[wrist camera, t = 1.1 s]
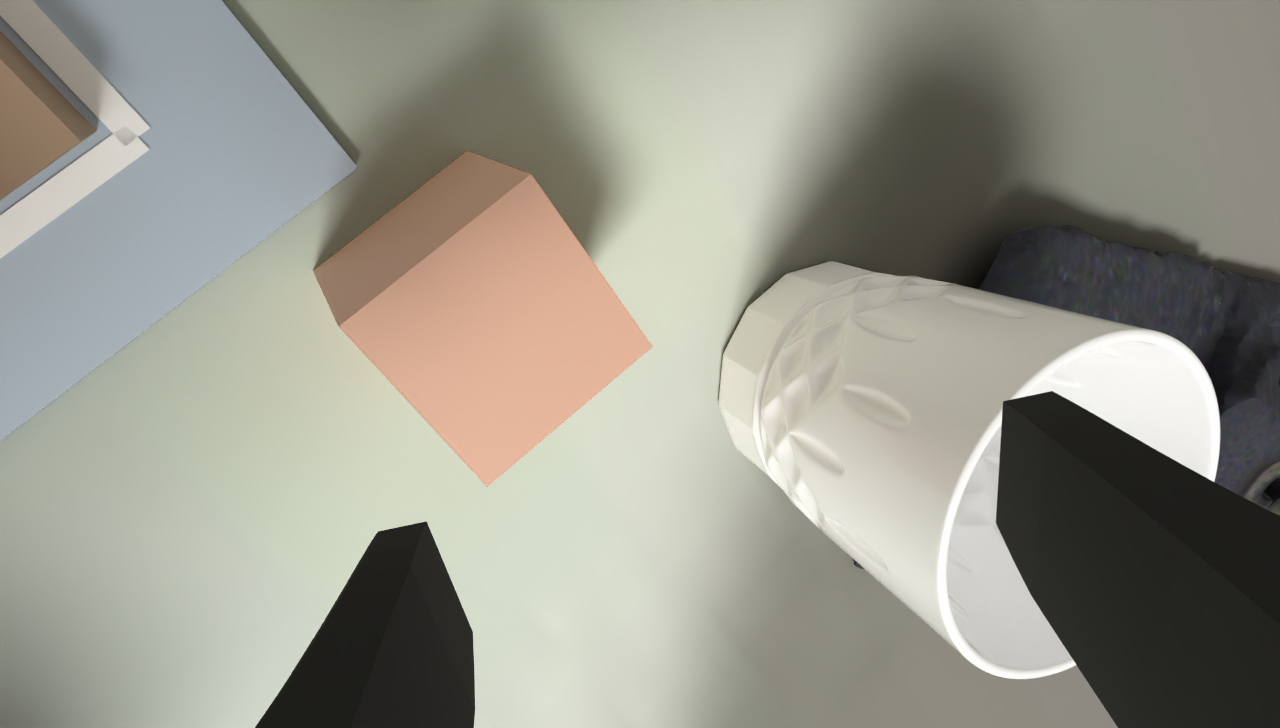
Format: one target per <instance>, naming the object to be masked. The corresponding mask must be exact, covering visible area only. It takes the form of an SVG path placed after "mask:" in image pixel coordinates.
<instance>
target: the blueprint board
mask: <svg viewBox="0 0 1280 728" xmlns="http://www.w3.org/2000/svg"><path fill="white" fill-rule="evenodd" d="M0 31H1V32H2V33H3V34H4V35H5V36H6V37H7V38H8V39H9V40H10V41H11V42H12V43H13V44H14V45H15V47H16V48H17V49H18V50H19V51H20V52H21V53H22V54H23V55H24V56H25V57H26V58H27V59H28V60H29V61H30V62H31V63H32V64H33V65H34V66H35V67H36V68H37V69H38V70H39V71H40V72H41V74H42V75H43V76H44V77H45V78H46V79H47V80H48V81H49V82H50V83H51V84H52V85H53V86H54V87H55V88H56V89H57V90H58V91H59V92H60V93H61V94H62V95H63V96H64V97H65V98H66V99H67V101H68V102H69V103H70V104H71V105H72V106H73V107H74V108H75V109H76V110H77V111H78V112H79V113H80V114H81V115H82V116H83V117H84V118H85V119H86V120H87V121H88V122H89V123H90V124H91V125H92V126H93V127H94V129H95V130H96V132H95V133H94V134H92V135H91V136H89V137H88V138H87V139H85V140H84V141H82V142H81V143H80V144H78V145H77V146H76V147H74V148H73V149H71V150H70V151H69V152H67V153H66V154H64V155H63V156H62V157H60V158H59V159H57V160H56V161H55V162H53V163H52V164H51V165H49V166H48V167H46V168H45V169H44V170H42V171H41V172H39V173H38V174H37V175H35V176H34V177H32V178H31V179H30V180H28V181H27V182H26V183H24V184H23V185H21V186H20V187H19V188H17V189H16V190H14V191H13V192H12V193H10V194H9V195H7V196H6V197H5V198H3V199H2V200H1V201H0V441H1V440H2V439H4V438H5V437H6V436H8V435H9V434H10V433H11V432H13V431H14V430H15V429H17V428H18V427H19V426H21V425H22V424H23V423H25V422H26V421H27V420H28V419H30V418H31V417H32V416H34V415H35V414H36V413H38V412H39V411H40V410H42V409H43V408H44V407H45V406H47V405H48V404H49V403H51V402H52V401H53V400H55V399H56V398H57V397H59V396H60V395H61V394H63V393H64V392H65V391H66V390H68V389H69V388H70V387H72V386H73V385H74V384H76V383H77V382H78V381H80V380H81V379H82V378H83V377H85V376H86V375H87V374H89V373H90V372H91V371H93V370H94V369H95V368H97V367H98V366H99V365H100V364H102V363H103V362H104V361H106V360H107V359H108V358H110V357H111V356H112V355H114V354H115V353H116V352H117V351H119V350H120V349H121V348H123V347H124V346H125V345H127V344H128V343H129V342H131V341H132V340H133V339H134V338H136V337H137V336H138V335H140V334H141V333H142V332H144V331H145V330H146V329H148V328H149V327H150V326H152V325H153V324H154V323H155V322H157V321H158V320H159V319H161V318H162V317H163V316H165V315H166V314H167V313H169V312H170V311H171V310H172V309H174V308H175V307H176V306H178V305H179V304H180V303H182V302H183V301H184V300H186V299H187V298H188V297H189V296H191V295H192V294H193V293H195V292H196V291H197V290H199V289H200V288H201V287H203V286H204V285H205V284H206V283H208V282H209V281H210V280H212V279H213V278H214V277H216V276H217V275H218V274H220V273H221V272H222V271H223V270H225V269H226V268H227V267H229V266H230V265H231V264H233V263H234V262H235V261H237V260H238V259H239V258H241V257H242V256H243V255H244V254H246V253H247V252H248V251H250V250H251V249H252V248H254V247H255V246H256V245H258V244H259V243H260V242H261V241H263V240H264V239H265V238H267V237H268V236H269V235H271V234H272V233H273V232H275V231H276V230H277V229H278V228H280V227H281V226H282V225H284V224H285V223H286V222H288V221H289V220H290V219H292V218H293V217H294V216H295V215H297V214H298V213H299V212H301V211H302V210H303V209H305V208H306V207H307V206H309V205H310V204H311V203H312V202H314V201H315V200H316V199H318V198H319V197H320V196H322V195H323V194H324V193H326V192H327V191H328V190H329V189H331V188H332V187H333V186H335V185H336V184H337V183H339V182H340V181H341V180H343V179H344V178H345V177H347V176H348V175H349V174H350V173H352V172H353V171H354V170H356V169H357V168H358V167H357V166H356V165H355V163H354V162H353V161H352V160H351V158H350V157H349V156H348V155H347V154H346V152H345V151H344V150H343V149H342V147H341V146H340V145H339V144H338V142H337V141H336V140H335V139H334V138H333V136H332V135H331V134H330V133H329V131H328V130H327V129H326V128H325V127H324V125H323V124H322V123H321V122H320V120H319V119H318V118H317V117H316V115H315V114H314V113H313V112H312V111H311V109H310V108H309V107H308V106H307V104H306V103H305V102H304V101H303V100H302V98H301V97H300V96H299V95H298V93H297V92H296V91H295V90H294V88H293V87H292V86H291V85H290V84H289V82H288V81H287V80H286V79H285V77H284V76H283V75H282V74H281V73H280V71H279V70H278V69H277V68H276V66H275V65H274V64H273V63H272V61H271V60H270V59H269V58H268V57H267V55H266V54H265V53H264V52H263V50H262V49H261V48H260V47H259V46H258V44H257V43H256V42H255V41H254V39H253V38H252V37H251V36H250V34H249V33H248V32H247V31H246V30H245V28H244V27H243V26H242V25H241V23H240V22H239V21H238V20H237V19H236V17H235V16H234V15H233V14H232V12H231V11H230V10H229V9H228V7H227V6H226V5H225V4H224V3H223V1H222V0H0Z"/></svg>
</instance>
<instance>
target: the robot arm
mask: <svg viewBox="0 0 1280 728" xmlns="http://www.w3.org/2000/svg"><path fill="white" fill-rule="evenodd" d="M996 525H997V527H998V529H999V531H1000V533H1001V535H1002V537H1003V539H1004V542H1005V544H1006V546H1007V548H1008V550H1009V552H1010V554H1011V556H1012V559H1013V561H1014V563H1015V565H1016V567H1017V569H1018V571H1019V573H1020V575H1021V577H1022V579H1023V580H1024V582H1025V584H1026V586H1027V588H1028V590H1029V592H1030V594H1031V596H1032V597H1033V599H1034V601H1035V602H1036V604H1037V605H1038V607H1039V608H1040V610H1041V612H1042V613H1043V615H1044V616H1045V618H1046V619H1047V621H1048V622H1049V624H1050V625H1051V627H1052V628H1053V630H1054V632H1055V633H1056V635H1057V636H1058V638H1059V639H1060V641H1061V642H1062V644H1063V645H1064V647H1065V648H1066V650H1067V651H1068V653H1069V654H1070V656H1071V657H1072V659H1073V660H1074V662H1075V663H1076V665H1077V666H1078V668H1079V669H1080V671H1081V672H1082V674H1083V675H1084V677H1085V678H1086V680H1087V681H1088V683H1089V684H1090V686H1091V687H1092V689H1093V690H1094V692H1095V694H1096V695H1097V697H1098V698H1099V700H1100V701H1101V703H1102V704H1103V706H1104V707H1105V709H1106V710H1107V712H1108V713H1109V715H1110V716H1111V718H1112V719H1113V721H1114V722H1115V724H1116V725H1117V727H1118V728H1280V516H1279V515H1277V514H1275V513H1273V512H1271V511H1269V510H1267V509H1265V508H1263V507H1261V506H1259V505H1257V504H1255V503H1253V502H1251V501H1249V500H1247V499H1246V498H1244V497H1242V496H1240V495H1238V494H1236V493H1234V492H1232V491H1230V490H1228V489H1226V488H1225V487H1223V486H1221V485H1219V484H1217V483H1215V482H1213V481H1211V480H1210V479H1208V478H1206V477H1204V476H1202V475H1200V474H1199V473H1197V472H1195V471H1193V470H1191V469H1190V468H1188V467H1186V466H1184V465H1182V464H1180V463H1179V462H1177V461H1175V460H1173V459H1172V458H1170V457H1168V456H1166V455H1164V454H1163V453H1161V452H1159V451H1157V450H1156V449H1154V448H1152V447H1150V446H1149V445H1147V444H1145V443H1143V442H1142V441H1140V440H1138V439H1136V438H1135V437H1133V436H1131V435H1129V434H1128V433H1126V432H1124V431H1122V430H1121V429H1119V428H1117V427H1115V426H1114V425H1112V424H1110V423H1109V422H1107V421H1105V420H1103V419H1102V418H1100V417H1098V416H1096V415H1095V414H1093V413H1091V412H1089V411H1088V410H1086V409H1084V408H1082V407H1081V406H1079V405H1077V404H1075V403H1073V402H1072V401H1070V400H1068V399H1066V398H1064V397H1062V396H1061V395H1059V394H1057V393H1055V392H1053V391H1050V392H1045V393H1040V394H1035V395H1031V396H1026V397H1021V398H1016V399H1011V400H1007V401H1003V410H1002V427H1001V443H1000V460H999V476H998V493H997V510H996ZM474 715H475V689H474V655H473V632H472V629H471V627H470V625H469V622H468V620H467V617H466V615H465V613H464V610H463V608H462V605H461V603H460V601H459V598H458V596H457V593H456V591H455V589H454V586H453V584H452V581H451V579H450V577H449V574H448V572H447V570H446V567H445V565H444V562H443V560H442V558H441V555H440V553H439V550H438V548H437V546H436V543H435V541H434V538H433V536H432V534H431V531H430V529H429V527H428V524H427V522H422V523H417V524H413V525H408V526H403V527H398V528H393V529H389V530H384V531H379V532H378V533H377V534H376V535H375V537H374V538H373V540H372V541H371V543H370V545H369V546H368V548H367V550H366V551H365V553H364V555H363V556H362V558H361V560H360V561H359V563H358V565H357V566H356V568H355V570H354V572H353V573H352V575H351V577H350V578H349V580H348V582H347V584H346V585H345V587H344V589H343V590H342V592H341V594H340V595H339V597H338V599H337V600H336V602H335V604H334V606H333V607H332V609H331V611H330V612H329V614H328V616H327V617H326V619H325V621H324V622H323V624H322V626H321V627H320V629H319V630H318V632H317V634H316V635H315V637H314V638H313V640H312V642H311V643H310V645H309V646H308V648H307V650H306V651H305V653H304V654H303V656H302V658H301V659H300V661H299V662H298V664H297V666H296V667H295V669H294V670H293V672H292V673H291V675H290V677H289V678H288V680H287V681H286V683H285V684H284V686H283V688H282V689H281V691H280V692H279V694H278V695H277V697H276V698H275V699H274V701H273V702H272V704H271V705H270V707H269V708H268V710H267V711H266V713H265V714H264V715H263V717H262V718H261V720H260V721H259V723H258V724H257V726H256V727H255V728H473V727H474Z"/></svg>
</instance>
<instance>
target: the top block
mask: <svg viewBox="0 0 1280 728" xmlns="http://www.w3.org/2000/svg"><path fill="white" fill-rule="evenodd" d="M313 272H314V274H315V276H316V278H317V281H318V283H319V285H320V287H321V289H322V291H323V294H324V296H325V298H326V300H327V302H328V304H329V307H330V309H331V311H332V313H333V315H334V317H335V320H336V322H337V324H338V326H339V327H340V328H341V330H342V331H343V332H344V333H345V334H346V335H347V336H348V337H349V338H350V339H351V340H352V341H353V343H354V344H355V345H356V346H357V347H358V348H359V349H360V350H361V351H362V352H363V353H364V354H365V355H366V357H367V358H368V359H369V360H370V361H371V362H372V363H373V364H374V365H375V366H376V367H377V368H378V370H379V371H380V372H381V373H382V374H383V375H384V376H385V377H386V378H387V379H388V380H389V381H390V383H391V384H392V385H393V386H394V387H395V388H396V389H397V390H398V391H399V392H400V393H401V394H402V395H403V397H404V398H405V399H406V400H407V401H408V402H409V403H410V404H411V405H412V406H413V407H414V408H415V410H416V411H417V412H418V413H419V414H420V415H421V416H422V417H423V418H424V419H425V420H426V421H427V423H428V424H429V425H430V426H431V427H432V428H433V429H434V430H435V431H436V432H437V433H438V434H439V435H440V437H441V438H442V439H443V440H444V441H445V442H446V443H447V444H448V445H449V446H450V447H451V448H452V450H453V451H454V452H455V453H456V454H457V455H458V456H459V457H460V458H461V459H462V460H463V461H464V462H465V464H466V465H467V466H468V467H469V468H470V469H471V470H472V471H473V472H474V473H475V474H476V475H477V477H478V478H479V479H480V480H481V481H482V482H483V483H484V484H485V485H486V486H487V487H488V486H489V485H490V484H491V483H492V482H494V481H495V480H496V479H497V478H498V477H499V476H501V475H502V474H503V473H504V472H505V471H507V470H508V469H509V468H510V467H511V466H512V465H514V464H515V463H516V462H517V461H518V460H520V459H521V458H522V457H523V456H524V455H525V454H527V453H528V452H529V451H530V450H531V449H533V448H534V447H535V446H536V445H537V444H538V443H540V442H541V441H542V440H543V439H544V438H545V437H547V436H548V435H549V434H550V433H551V432H553V431H554V430H555V429H556V428H557V427H558V426H560V425H561V424H562V423H563V422H564V421H566V420H567V419H568V418H569V417H570V416H571V415H573V414H574V413H575V412H576V411H577V410H579V409H580V408H581V407H582V406H583V405H584V404H586V403H587V402H588V401H589V400H590V399H592V398H593V397H594V396H595V395H596V394H597V393H599V392H600V391H601V390H602V389H603V388H604V387H606V386H607V385H608V384H609V383H610V382H612V381H613V380H614V379H615V378H616V377H617V376H619V375H620V374H621V373H622V372H623V371H625V370H626V369H627V368H628V367H629V366H630V365H632V364H633V363H634V362H635V361H636V360H638V359H639V358H640V357H641V356H642V355H643V354H645V353H646V352H647V351H648V350H649V349H651V348H652V347H653V346H652V345H651V343H650V342H649V341H648V339H647V338H646V336H645V335H644V334H643V332H642V331H641V329H640V328H639V326H638V325H637V324H636V322H635V321H634V319H633V318H632V316H631V315H630V314H629V312H628V311H627V309H626V308H625V307H624V305H623V304H622V302H621V301H620V299H619V298H618V297H617V295H616V294H615V292H614V291H613V289H612V288H611V287H610V285H609V284H608V282H607V281H606V280H605V278H604V277H603V275H602V274H601V272H600V271H599V270H598V268H597V267H596V265H595V264H594V262H593V261H592V260H591V258H590V257H589V255H588V254H587V253H586V251H585V250H584V248H583V247H582V245H581V244H580V243H579V241H578V240H577V238H576V237H575V236H574V234H573V233H572V231H571V230H570V228H569V227H568V226H567V224H566V223H565V221H564V220H563V218H562V217H561V216H560V214H559V213H558V211H557V210H556V209H555V207H554V206H553V204H552V203H551V201H550V200H549V199H548V197H547V196H546V194H545V193H544V191H543V190H542V189H541V187H540V186H539V184H538V183H537V182H536V180H535V179H534V177H533V176H532V174H530V173H527V172H524V171H522V170H519V169H516V168H513V167H511V166H508V165H505V164H502V163H500V162H497V161H494V160H491V159H489V158H486V157H483V156H480V155H478V154H475V153H472V152H469V151H466V152H465V153H464V154H462V155H461V156H460V157H458V158H457V159H456V160H455V161H453V162H452V163H451V164H449V165H448V166H447V167H446V168H444V169H443V170H442V171H440V172H439V173H438V174H437V175H435V176H434V177H433V178H431V179H430V180H429V181H428V182H426V183H425V184H424V185H422V186H421V187H420V188H419V189H417V190H416V191H415V192H413V193H412V194H411V195H410V196H408V197H407V198H406V199H404V200H403V201H402V202H401V203H399V204H398V205H397V206H395V207H394V208H393V209H392V210H390V211H389V212H388V213H386V214H385V215H384V216H383V217H381V218H380V219H379V220H377V221H376V222H375V223H374V224H372V225H371V226H370V227H368V228H367V229H366V230H365V231H363V232H362V233H361V234H359V235H358V236H357V237H356V238H354V239H353V240H352V241H350V242H349V243H348V244H347V245H345V246H344V247H343V248H341V249H340V250H339V251H338V252H336V253H335V254H334V255H332V256H331V257H330V258H329V259H327V260H326V261H325V262H323V263H322V264H321V265H320V266H318V267H317V268H316V269H314V270H313Z"/></svg>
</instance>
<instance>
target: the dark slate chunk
mask: <svg viewBox="0 0 1280 728" xmlns="http://www.w3.org/2000/svg"><path fill="white" fill-rule="evenodd" d="M979 290H983V291H987V292H991V293H996V294H1000V295H1004V296H1008V297H1013V298H1017V299H1022V300H1026V301H1031V302H1035V303H1039V304H1043V305H1047V306H1051V307H1056V308H1060V309H1064V310H1068V311H1072V312H1077V313H1081V314H1085V315H1089V316H1094V317H1098V318H1102V319H1107V320H1111V321H1115V322H1120V323H1124V324H1128V325H1133V326H1137V327H1141V328H1146V329H1150V330H1154V331H1158V332H1162V333H1164V334H1167V335H1169V336H1172V337H1174V338H1175V339H1177V340H1179V341H1180V342H1182V343H1183V344H1185V345H1186V346H1187V347H1188V348H1189V349H1190V350H1191V351H1192V352H1193V353H1194V354H1195V355H1196V356H1197V357H1198V358H1199V360H1200V361H1201V363H1202V364H1203V366H1204V367H1205V369H1206V371H1207V373H1208V375H1209V377H1210V379H1211V381H1212V384H1213V387H1214V390H1215V393H1216V397H1217V402H1218V407H1219V415H1220V452H1219V460H1218V467H1217V472H1216V477H1215V483H1217V484H1219V485H1221V486H1223V487H1225V488H1226V489H1228V490H1230V491H1232V492H1234V493H1236V494H1238V495H1240V496H1242V497H1244V498H1246V499H1247V500H1249V501H1251V502H1253V503H1255V504H1257V505H1259V506H1261V507H1263V508H1265V509H1267V510H1269V511H1271V512H1273V513H1275V514H1277V515H1279V516H1280V284H1278V283H1271V282H1268V281H1265V280H1262V279H1256V278H1252V277H1249V276H1247V277H1245V276H1242V275H1239V274H1236V273H1233V272H1231V271H1226V272H1224V273H1221V272H1220V271H1218V270H1217V269H1215V268H1213V265H1212V264H1210V263H1209V262H1204V263H1201V262H1198V261H1196V260H1195V259H1193V258H1191V257H1189V256H1186V255H1183V254H1179V253H1162V252H1156V253H1153V252H1152V251H1151V250H1149V249H1143V248H1134V247H1130V246H1128V245H1126V244H1123V243H1117V242H1104V241H1102V240H1100V239H1098V238H1096V237H1094V236H1093V235H1091V234H1089V233H1087V232H1085V231H1084V230H1082V229H1080V228H1077V227H1075V226H1071V225H1064V226H1059V227H1053V226H1043V227H1036V228H1026V229H1021V230H1019V231H1016V232H1014V233H1013V234H1011V235H1009V236H1008V237H1006V238H1005V239H1004V241H1003V242H1002V244H1001V246H1000V249H999V252H998V254H997V257H996V258H995V260H994V262H993V264H992V266H991V268H990V270H989V272H988V273H987V275H986V277H985V278H984V280H983V282H982V283H981V285H980V288H979ZM854 565H856V566H857V567H858V568H861V569H864V568H863V567H862V566H861V565H860V564H858V563H857V562H856V561H855V562H854Z"/></svg>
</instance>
